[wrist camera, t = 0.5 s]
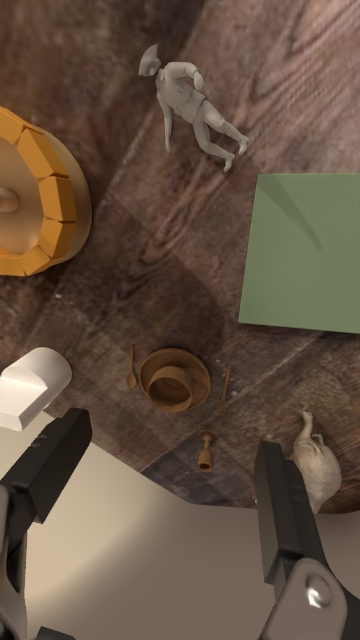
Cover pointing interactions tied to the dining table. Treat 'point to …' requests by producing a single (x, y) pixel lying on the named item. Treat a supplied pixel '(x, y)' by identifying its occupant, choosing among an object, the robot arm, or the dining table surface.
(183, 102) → the soldier figure
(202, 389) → the place setting
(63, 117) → the dining table surface
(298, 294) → the mat
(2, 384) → the base with upright slab
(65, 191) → the ring
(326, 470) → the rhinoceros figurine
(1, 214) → the ring stand
